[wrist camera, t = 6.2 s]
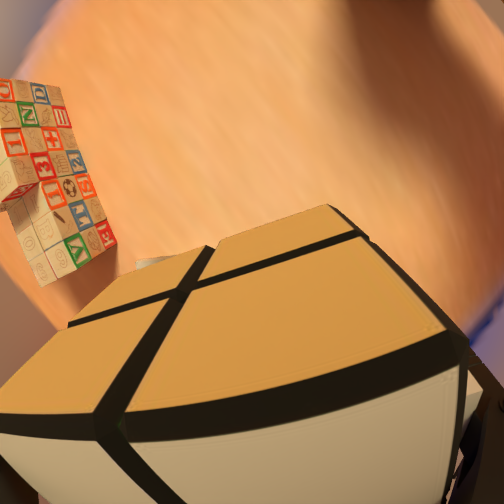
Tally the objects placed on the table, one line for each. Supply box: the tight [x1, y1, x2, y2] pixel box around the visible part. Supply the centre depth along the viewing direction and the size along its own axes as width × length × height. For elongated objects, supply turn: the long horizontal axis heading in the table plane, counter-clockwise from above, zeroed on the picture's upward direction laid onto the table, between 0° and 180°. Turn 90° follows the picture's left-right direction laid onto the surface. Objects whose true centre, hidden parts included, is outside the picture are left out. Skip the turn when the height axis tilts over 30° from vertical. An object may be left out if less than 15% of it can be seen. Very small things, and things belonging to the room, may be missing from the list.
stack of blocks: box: [0, 78, 117, 288], centre depth 27 cm, size 21×6×12 cm, turn 22°
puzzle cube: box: [0, 204, 469, 504], centre depth 10 cm, size 10×10×10 cm
